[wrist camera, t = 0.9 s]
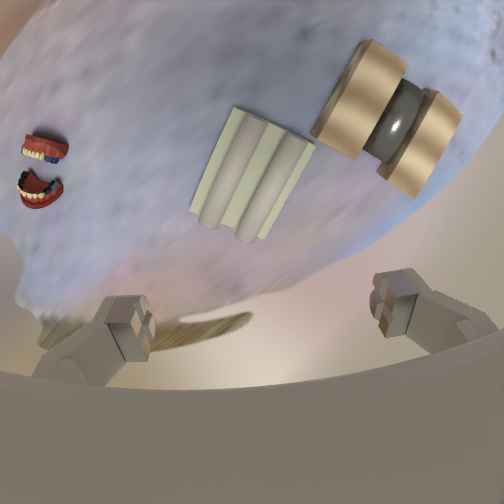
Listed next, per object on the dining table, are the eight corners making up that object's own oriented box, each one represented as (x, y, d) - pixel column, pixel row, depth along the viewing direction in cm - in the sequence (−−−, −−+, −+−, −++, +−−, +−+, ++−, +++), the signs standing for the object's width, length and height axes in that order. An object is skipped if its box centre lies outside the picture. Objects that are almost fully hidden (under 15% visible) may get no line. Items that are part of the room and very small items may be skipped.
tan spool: (361, 41, 30) (372, 39, 27) (448, 110, 35) (463, 115, 32) (310, 133, 38) (316, 139, 35) (402, 189, 43) (414, 199, 39)
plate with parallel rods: (234, 106, 36) (232, 109, 32) (313, 143, 39) (321, 151, 35) (190, 205, 44) (185, 220, 39) (263, 233, 47) (265, 250, 42)
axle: (391, 77, 33) (407, 78, 29) (415, 96, 34) (433, 100, 30) (354, 143, 39) (366, 151, 35) (380, 159, 40) (394, 169, 36)
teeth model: (49, 145, 31) (43, 218, 37) (72, 134, 36) (62, 201, 42) (11, 133, 29) (7, 202, 35) (35, 123, 34) (28, 187, 40)
